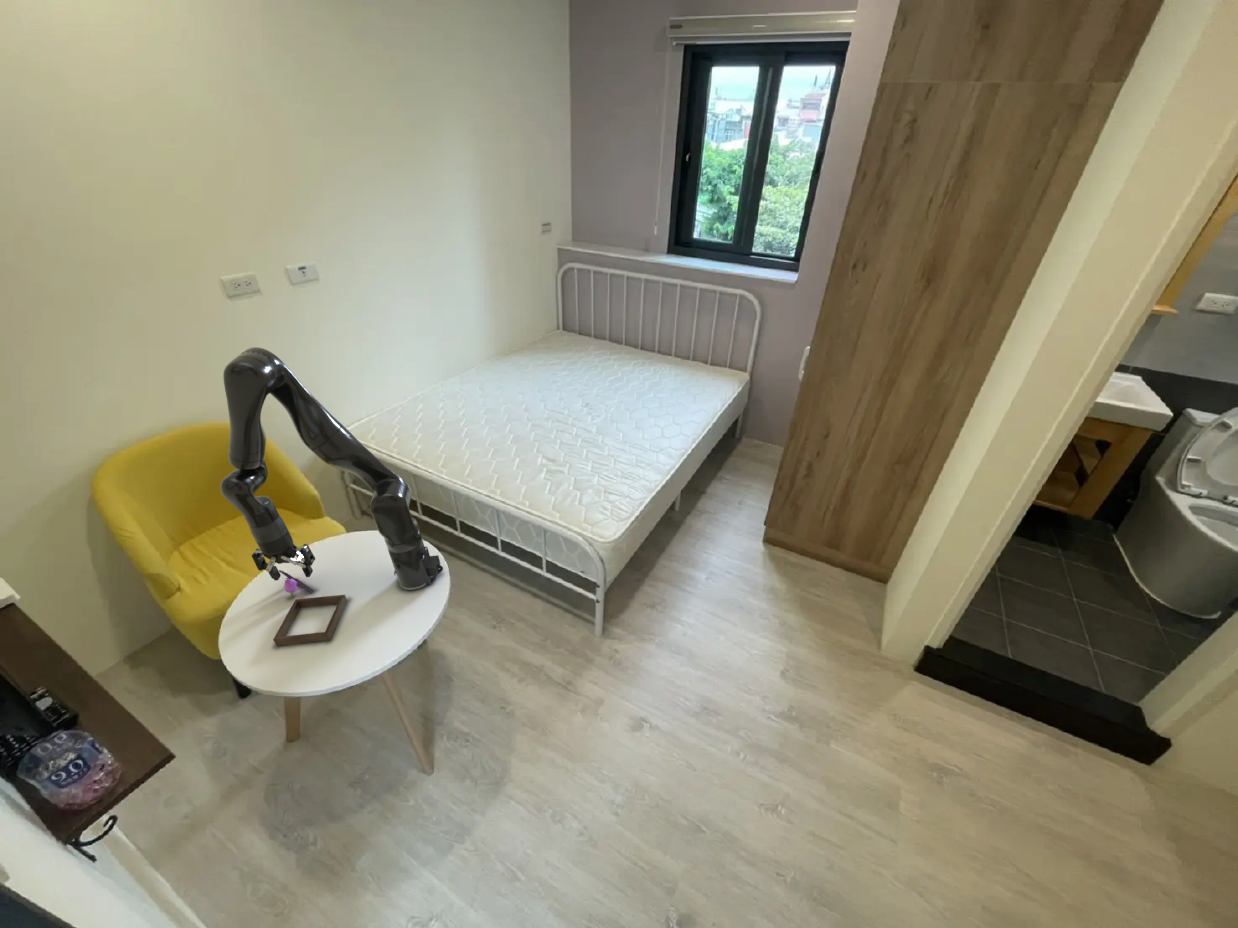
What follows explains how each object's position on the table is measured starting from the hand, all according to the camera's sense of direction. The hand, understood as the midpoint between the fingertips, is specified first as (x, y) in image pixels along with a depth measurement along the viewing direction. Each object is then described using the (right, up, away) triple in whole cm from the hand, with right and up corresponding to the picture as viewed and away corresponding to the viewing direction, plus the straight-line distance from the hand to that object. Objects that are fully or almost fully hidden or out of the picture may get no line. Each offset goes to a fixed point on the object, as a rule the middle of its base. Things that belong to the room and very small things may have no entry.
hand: (293, 576), depth 144 cm
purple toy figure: (0, -5, +2) cm, 5 cm away
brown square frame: (+10, -11, -8) cm, 17 cm away
